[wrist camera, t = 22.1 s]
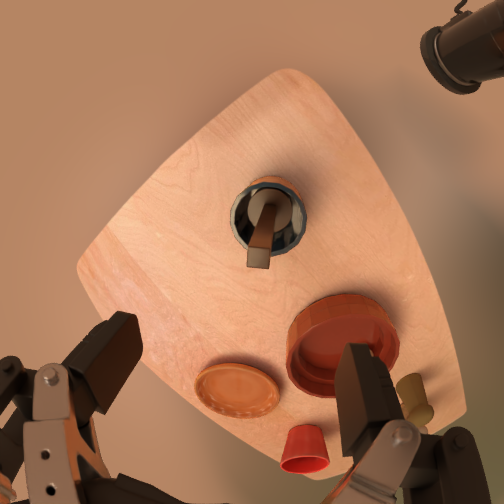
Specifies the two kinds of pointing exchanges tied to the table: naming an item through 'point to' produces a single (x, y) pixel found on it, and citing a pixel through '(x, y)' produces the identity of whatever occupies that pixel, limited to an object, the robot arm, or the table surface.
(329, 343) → the bowl
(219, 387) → the saucer
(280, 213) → the wooden pestle
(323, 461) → the flower pot
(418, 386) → the brown peg figure
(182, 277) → the table surface
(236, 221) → the crock
